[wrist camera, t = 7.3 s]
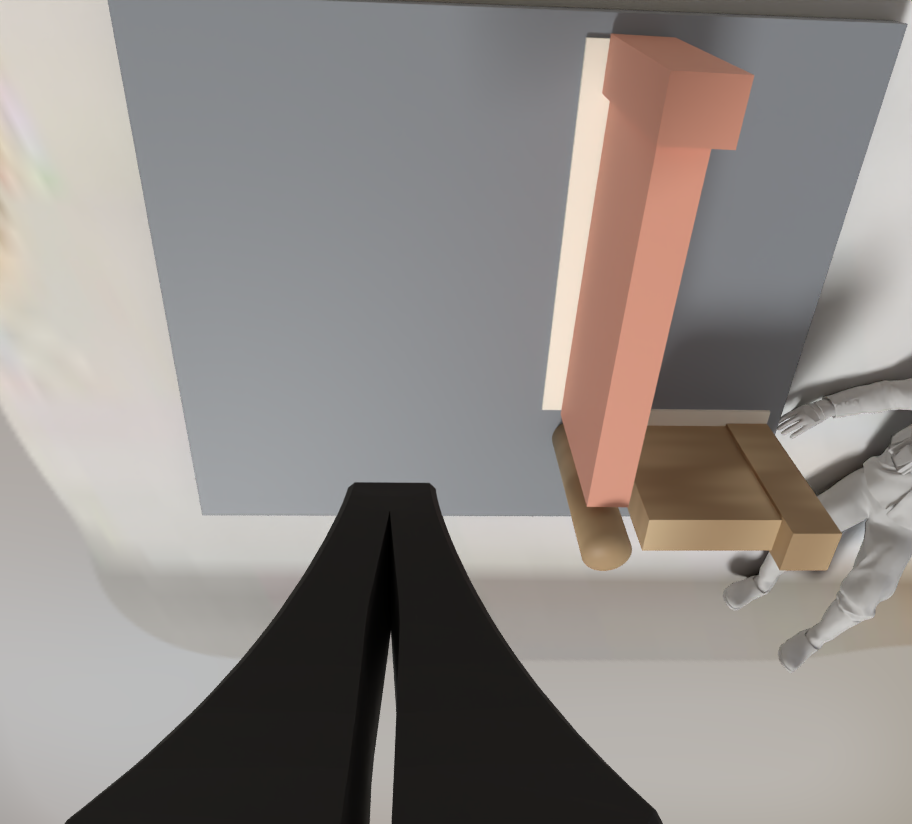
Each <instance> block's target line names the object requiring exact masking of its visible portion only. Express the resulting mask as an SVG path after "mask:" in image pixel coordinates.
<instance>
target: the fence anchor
mask: <svg viewBox="0 0 912 824" xmlns="http://www.w3.org/2000/svg"><path fill="white" fill-rule="evenodd" d="M552 443H553V447H554V451H555V454H556V458H557V462H558V466H559V470H560V474H561V478H562V482H563V486H564V490H565V494H566V498H567V501H568V505H569V509H570V513H571V517H572V521H573V525H574V529H575V533H576V537H577V541H578V545H579V548H580V552H581V556H582V560H583V562H584V563H585V564H586V565H587V566H588V567H590V568H592V569H594V570H599V571H607V570H612V569H615V568H618V567H620V566H621V565H623V564H624V563H625V562H626V561H627V560H628V559H629V557H630V555H631V552H632V547H631V543H630V541H629V538H628V535H627V532H626V529H625V526H624V523H623V520H622V517H621V514H620V511H619V508H618V507H587V505H586V502H585V498H584V495H583V491H582V488H581V484H580V481H579V477H578V474H577V470H576V467H575V463H574V460H573V456H572V453H571V449H570V446H569V442H568V439H567V435H566V432H565V428H564V425H563V423H562V424H560V425H559V426H558V427H557V428H556V429H555V431H554V432H553V435H552ZM627 509H628V511H629V514H630V517H631V520H632V523H633V526H634V528H635V531H636V534H637V537H638V540H639V543H640V545H641V548H642V550H769V552H770V554H771V556H772V557H773V559H774V561H775V563H776V565H777V566H778V568H779V570H827V569H828V567H829V565H830V562H831V560H832V557H833V555H834V553H835V550H836V548H837V545H838V543H839V541H840V538H841V536H842V533H841V531H840V530H839V528H838V527H837V525H836V524H835V522H834V521H833V519H832V518H831V517H830V515H829V514H828V512H827V511H826V509H825V508H824V506H823V505H822V503H821V502H820V500H819V499H818V498H817V496H816V495H815V493H814V492H813V490H812V489H811V487H810V486H809V484H808V483H807V482H806V480H805V479H804V477H803V476H802V474H801V473H800V471H799V470H798V468H797V467H796V465H795V464H794V463H793V461H792V460H791V458H790V457H789V455H788V454H787V452H786V451H785V449H784V448H783V447H782V445H781V444H780V442H779V441H778V439H777V438H776V436H775V435H774V433H773V432H772V430H771V429H770V428H769V426H768V425H767V424H735V423H726V426H647V429H646V433H645V437H644V441H643V446H642V450H641V454H640V459H639V463H638V467H637V472H636V476H635V480H634V485H633V489H632V493H631V497H630V502H629V506H628V507H627Z"/></svg>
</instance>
